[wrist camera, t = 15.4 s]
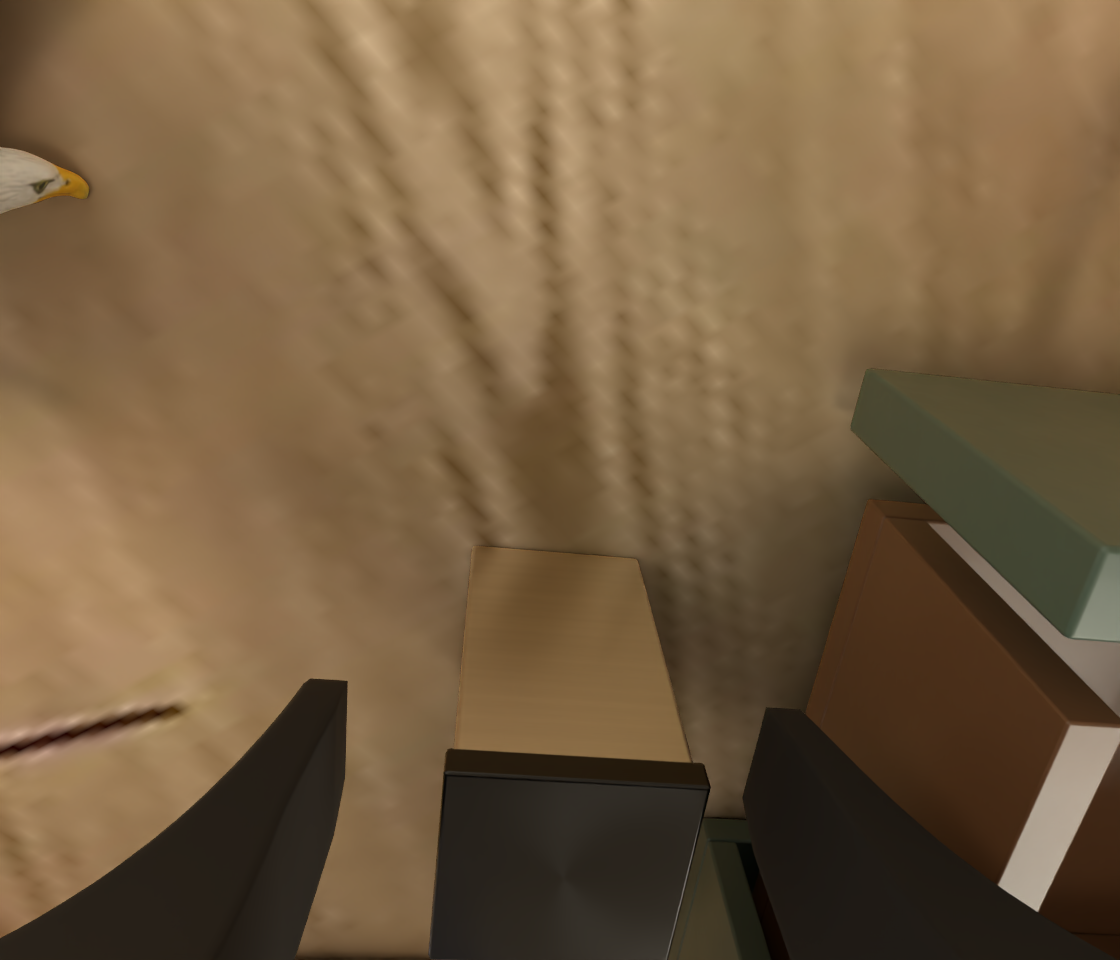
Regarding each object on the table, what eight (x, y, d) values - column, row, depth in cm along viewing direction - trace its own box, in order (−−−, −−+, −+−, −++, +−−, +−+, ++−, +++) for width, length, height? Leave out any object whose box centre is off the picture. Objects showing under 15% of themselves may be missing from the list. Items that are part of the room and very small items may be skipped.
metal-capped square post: (454, 685, 18) (428, 961, 13) (467, 538, 17) (443, 772, 11) (618, 695, 19) (667, 969, 13) (644, 552, 17) (712, 787, 11)
